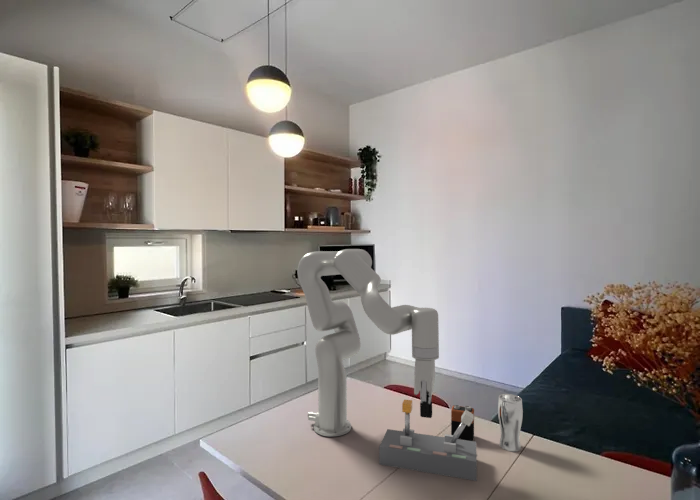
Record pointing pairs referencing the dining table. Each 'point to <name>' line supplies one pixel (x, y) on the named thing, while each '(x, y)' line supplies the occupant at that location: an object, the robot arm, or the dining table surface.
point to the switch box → (429, 454)
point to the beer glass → (510, 421)
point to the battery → (456, 421)
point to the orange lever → (407, 415)
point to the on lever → (462, 425)
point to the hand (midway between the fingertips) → (426, 416)
